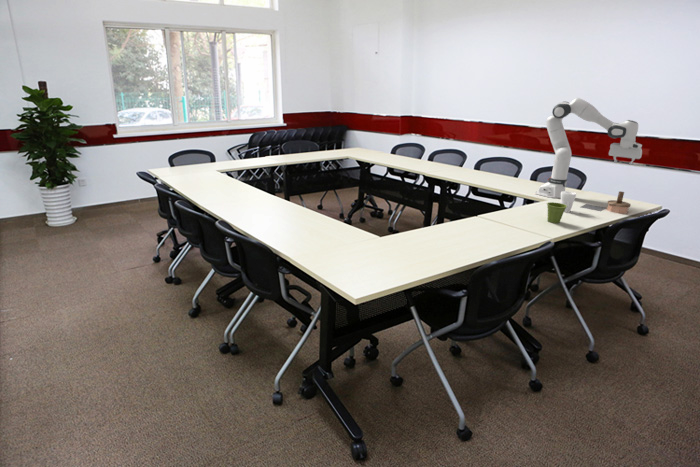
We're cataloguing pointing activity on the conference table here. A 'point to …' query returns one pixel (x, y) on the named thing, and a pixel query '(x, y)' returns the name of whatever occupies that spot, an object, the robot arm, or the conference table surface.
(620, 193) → the lid
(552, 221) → the plant pot
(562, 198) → the foam cup
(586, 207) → the mat
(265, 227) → the conference table surface
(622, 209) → the bowl
